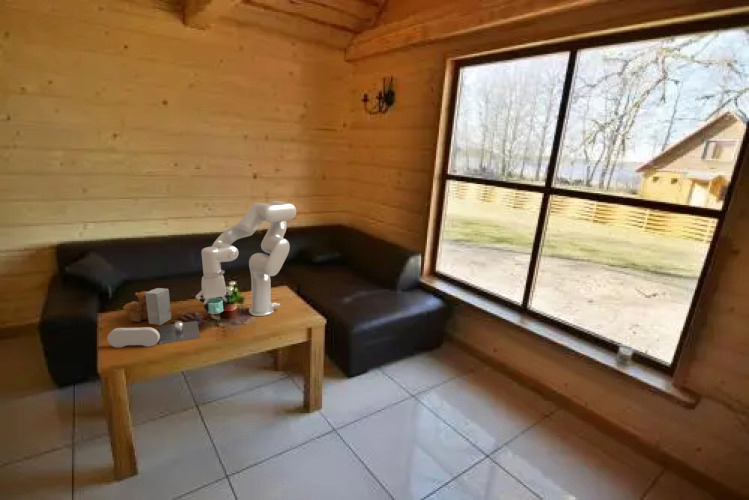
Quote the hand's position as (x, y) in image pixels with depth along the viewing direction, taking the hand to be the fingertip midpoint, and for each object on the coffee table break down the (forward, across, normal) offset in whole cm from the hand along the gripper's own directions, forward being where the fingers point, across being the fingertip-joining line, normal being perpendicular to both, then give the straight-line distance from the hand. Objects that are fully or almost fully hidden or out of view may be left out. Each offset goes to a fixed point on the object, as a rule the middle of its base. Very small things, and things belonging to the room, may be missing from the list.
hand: (215, 309), depth 180 cm
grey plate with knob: (+9, +16, 0) cm, 18 cm away
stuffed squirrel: (+9, +32, -22) cm, 39 cm away
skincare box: (+9, +24, -16) cm, 30 cm away
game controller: (+8, +33, +7) cm, 35 cm away
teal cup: (+1, 0, +1) cm, 1 cm away
